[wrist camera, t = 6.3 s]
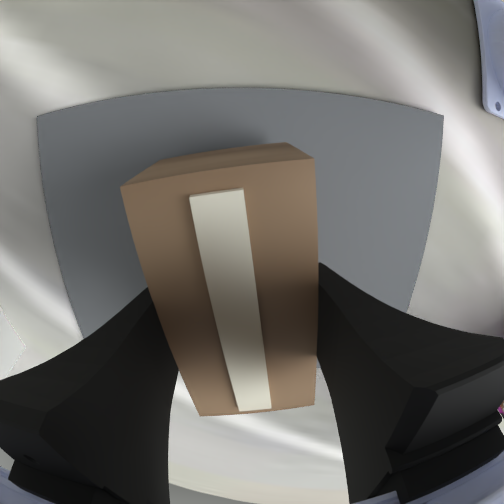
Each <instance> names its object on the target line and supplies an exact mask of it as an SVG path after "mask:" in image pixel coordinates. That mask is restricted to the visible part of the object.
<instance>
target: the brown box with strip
mask: <svg viewBox="0 0 504 504" xmlns="http://www.w3.org/2000/svg"><path fill="white" fill-rule="evenodd" d="M120 189H121V194H122V198H123V202H124V206H125V210H126V214H127V218H128V222H129V225H130V229H131V233H132V236H133V240H134V244H135V247H136V250H137V254H138V257H139V260H140V264H141V267H142V270H143V273H144V277H145V280H146V283H147V286H148V289H149V292H150V295H151V298H152V301H153V303H154V306H155V308H156V311H157V314H158V317H159V320H160V323H161V325H162V328H163V331H164V333H165V336H166V339H167V341H168V344H169V347H170V349H171V352H172V354H173V357H174V359H175V361H176V364H177V366H178V369H179V371H180V373H181V376H182V378H183V380H184V383H185V385H186V387H187V389H188V392H189V394H190V396H191V398H192V400H193V403H194V405H195V407H196V409H197V411H198V413H199V415H200V416H219V415H235V414H248V413H258V412H267V411H276V410H283V409H291V408H297V407H304V406H310V405H314V400H315V384H316V365H317V356H316V355H317V332H318V223H317V198H316V178H315V162H314V158H313V157H311V156H309V155H308V154H306V153H304V152H303V151H301V150H299V149H297V148H296V147H294V146H292V145H291V144H289V143H287V142H281V143H271V144H261V145H252V146H244V147H236V148H228V149H221V150H214V151H208V152H201V153H195V154H189V155H183V156H178V157H172V158H167V159H162V160H159V161H158V162H156V163H155V164H153V165H151V166H150V167H148V168H147V169H145V170H144V171H142V172H141V173H139V174H138V175H136V176H135V177H133V178H132V179H130V180H129V181H127V182H126V183H125V184H123V185H122V186H120Z"/></svg>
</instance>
